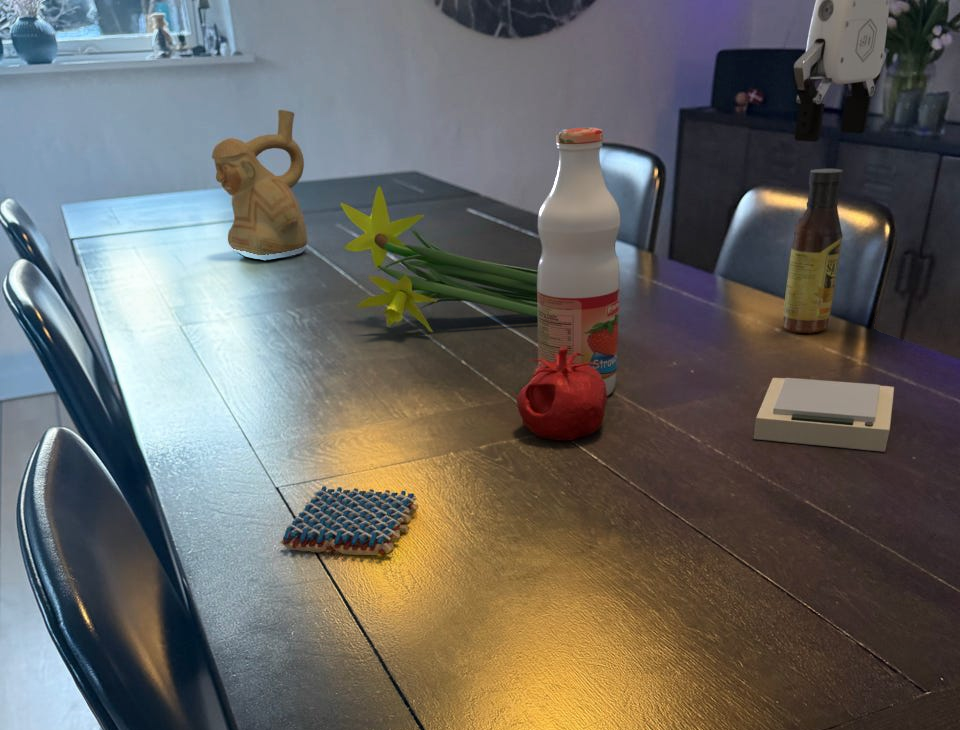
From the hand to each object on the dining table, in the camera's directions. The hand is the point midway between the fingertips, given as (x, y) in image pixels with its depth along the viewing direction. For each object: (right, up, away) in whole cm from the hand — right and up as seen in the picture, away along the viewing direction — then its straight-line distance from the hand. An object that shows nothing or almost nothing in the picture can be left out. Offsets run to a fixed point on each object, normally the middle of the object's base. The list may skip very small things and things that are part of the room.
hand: (829, 136), depth 116 cm
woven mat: (-55, -53, -31) cm, 83 cm away
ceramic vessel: (-85, +15, +71) cm, 112 cm away
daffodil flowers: (-46, -15, +24) cm, 54 cm away
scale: (-6, -40, -15) cm, 43 cm away
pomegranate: (-35, -40, -13) cm, 54 cm away
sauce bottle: (+1, -20, +13) cm, 24 cm away
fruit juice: (-32, -33, -3) cm, 46 cm away
